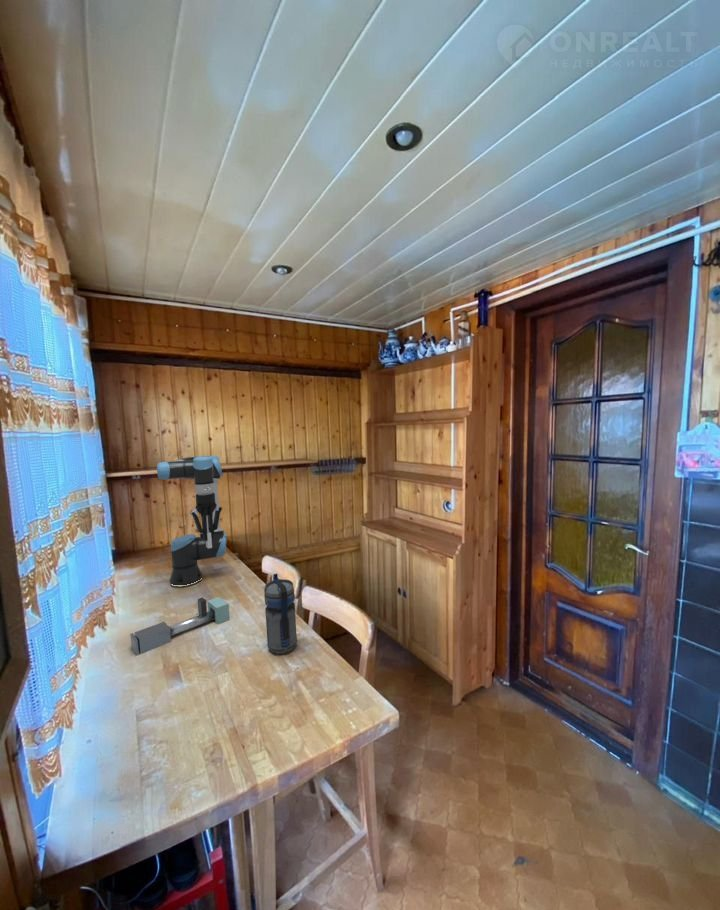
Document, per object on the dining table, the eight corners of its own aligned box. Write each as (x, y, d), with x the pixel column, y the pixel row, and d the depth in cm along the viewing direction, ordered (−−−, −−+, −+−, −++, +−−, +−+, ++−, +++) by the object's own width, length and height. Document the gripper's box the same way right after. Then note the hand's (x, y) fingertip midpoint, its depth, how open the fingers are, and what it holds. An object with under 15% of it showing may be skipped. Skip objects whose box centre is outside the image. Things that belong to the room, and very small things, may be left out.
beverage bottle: (273, 663, 123) (268, 589, 121) (264, 643, 134) (260, 575, 133) (302, 654, 127) (299, 582, 125) (292, 635, 139) (288, 569, 137)
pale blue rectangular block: (217, 624, 149) (216, 608, 148) (208, 616, 155) (207, 601, 155) (229, 619, 152) (228, 603, 152) (220, 612, 159) (219, 596, 158)
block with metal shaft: (162, 641, 137) (160, 616, 136) (159, 637, 140) (157, 612, 139) (221, 618, 152) (219, 595, 152) (217, 615, 155) (215, 592, 154)
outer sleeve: (136, 655, 130) (135, 641, 130) (131, 647, 135) (130, 633, 134) (171, 641, 138) (169, 627, 137) (165, 634, 142) (164, 621, 142)
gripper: (192, 497, 151) (196, 553, 153) (223, 491, 160) (227, 545, 162) (186, 494, 156) (190, 549, 159) (216, 489, 165) (220, 541, 167)
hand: (209, 547), depth 160 cm, fingers closed
